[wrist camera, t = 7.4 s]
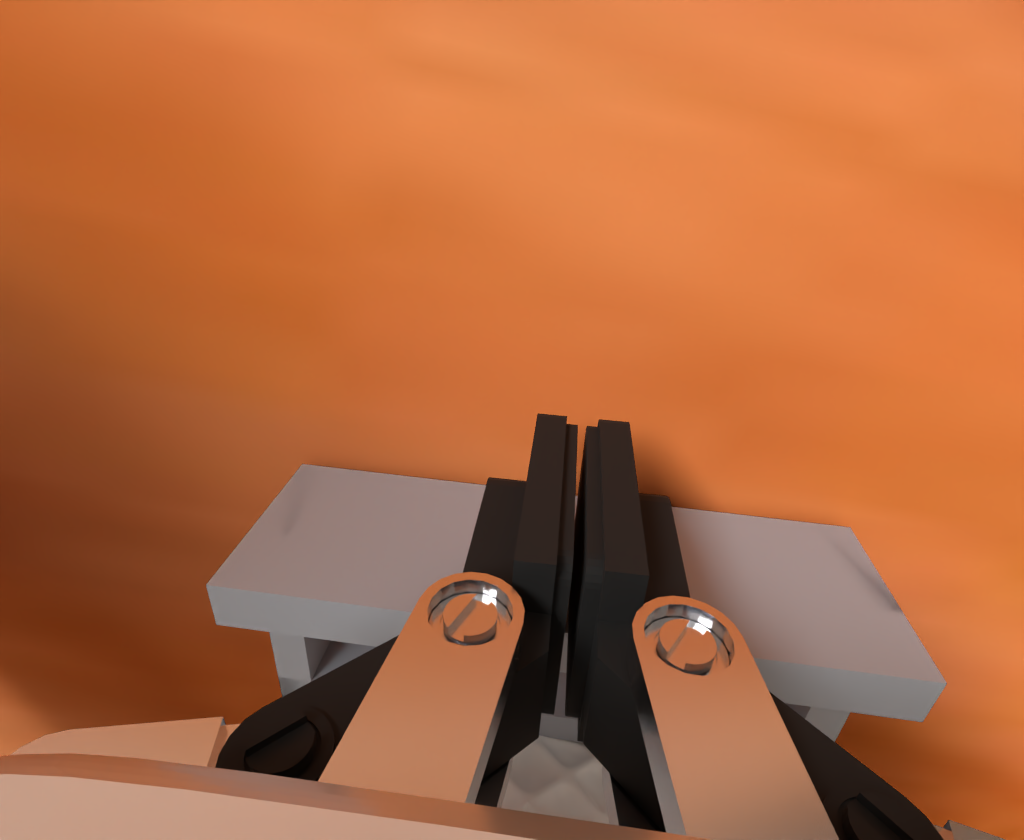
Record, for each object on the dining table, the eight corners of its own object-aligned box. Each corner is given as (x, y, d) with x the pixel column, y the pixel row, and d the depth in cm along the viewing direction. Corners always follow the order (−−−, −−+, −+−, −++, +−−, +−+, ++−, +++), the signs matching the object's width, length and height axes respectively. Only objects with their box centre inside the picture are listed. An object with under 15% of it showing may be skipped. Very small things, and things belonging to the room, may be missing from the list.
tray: (302, 463, 14) (205, 584, 10) (850, 527, 13) (947, 683, 9) (351, 823, 21) (305, 963, 18) (698, 879, 21) (721, 1039, 17)
